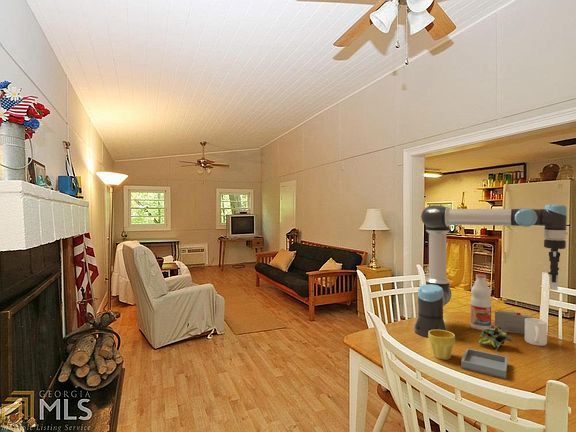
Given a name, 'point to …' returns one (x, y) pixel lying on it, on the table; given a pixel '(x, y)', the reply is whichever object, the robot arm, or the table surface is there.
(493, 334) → the green leafy plant
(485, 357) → the tray
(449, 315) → the table surface
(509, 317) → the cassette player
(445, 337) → the plant pot
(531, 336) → the mug
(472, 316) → the fruit juice
